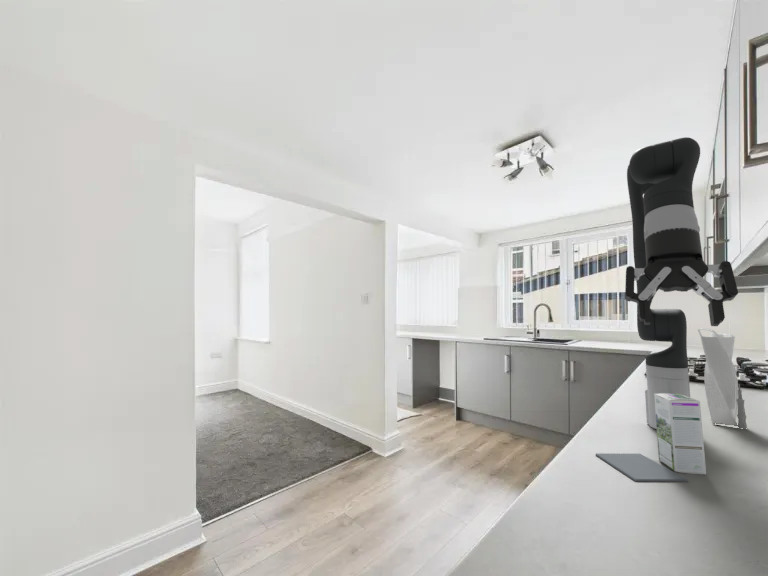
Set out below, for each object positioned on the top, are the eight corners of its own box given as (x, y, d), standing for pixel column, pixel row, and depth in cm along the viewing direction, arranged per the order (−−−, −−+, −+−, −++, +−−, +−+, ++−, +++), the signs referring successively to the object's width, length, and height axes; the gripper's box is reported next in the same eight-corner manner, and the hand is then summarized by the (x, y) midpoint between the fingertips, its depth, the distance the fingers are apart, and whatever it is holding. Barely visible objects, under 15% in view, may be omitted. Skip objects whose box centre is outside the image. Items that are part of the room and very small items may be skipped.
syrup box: (707, 475, 67) (702, 400, 68) (673, 472, 68) (668, 398, 69) (688, 463, 73) (683, 393, 74) (656, 460, 74) (652, 392, 75)
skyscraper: (706, 425, 99) (699, 328, 101) (702, 418, 105) (696, 327, 107) (748, 431, 94) (740, 329, 96) (741, 423, 100) (734, 328, 102)
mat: (595, 455, 76) (595, 453, 76) (640, 455, 76) (640, 453, 76) (635, 481, 64) (635, 479, 64) (687, 481, 64) (687, 479, 64)
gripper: (720, 242, 60) (733, 331, 55) (621, 249, 68) (626, 328, 63) (732, 220, 54) (748, 319, 49) (623, 231, 62) (627, 317, 57)
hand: (679, 324), depth 56 cm, fingers open, 8 cm apart
